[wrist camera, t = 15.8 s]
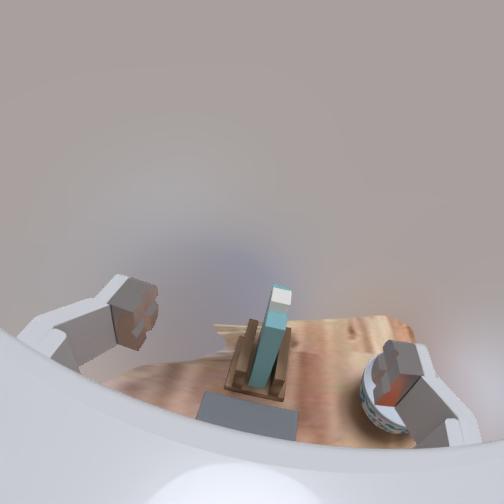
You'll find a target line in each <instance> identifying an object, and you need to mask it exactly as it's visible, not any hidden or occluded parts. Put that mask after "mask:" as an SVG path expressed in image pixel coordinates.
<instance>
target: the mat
mask: <svg viewBox="0 0 504 504" xmlns="http://www.w3.org/2000/svg"><path fill="white" fill-rule="evenodd" d="M196 419H197V420H200V421H204V422H207V423H211V424H214V425H218V426H222V427H226V428H230V429H234V430H238V431H243V432H247V433H252V434H257V435H262V436H267V437H272V438H278V439H283V440H290V441H296V431H297V422H298V411H293V410H287V409H282V408H277V407H272V406H267V405H262V404H257V403H253V402H248V401H244V400H240V399H236V398H232V397H228V396H224V395H220V394H216V393H213V392H209V391H206V392H205V395H204V397H203V400H202V403H201V406H200V409H199V412H198V415H197V417H196Z"/></svg>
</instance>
